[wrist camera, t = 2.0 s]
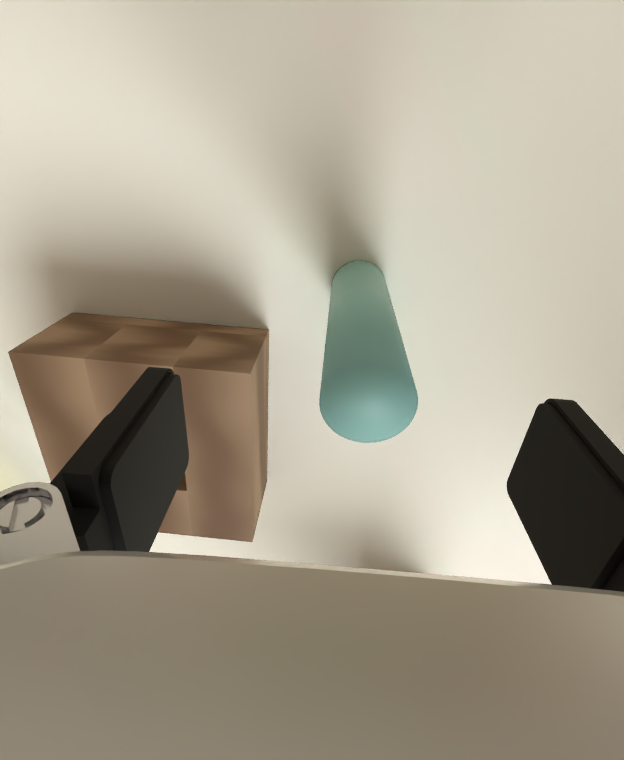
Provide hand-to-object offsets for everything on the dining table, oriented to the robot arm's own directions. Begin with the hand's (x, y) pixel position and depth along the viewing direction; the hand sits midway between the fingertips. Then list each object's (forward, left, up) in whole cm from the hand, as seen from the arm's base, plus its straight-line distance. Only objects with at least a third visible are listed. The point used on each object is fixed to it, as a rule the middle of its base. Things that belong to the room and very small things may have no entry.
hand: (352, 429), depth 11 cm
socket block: (+10, +9, -14) cm, 20 cm away
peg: (-1, 0, -14) cm, 14 cm away
